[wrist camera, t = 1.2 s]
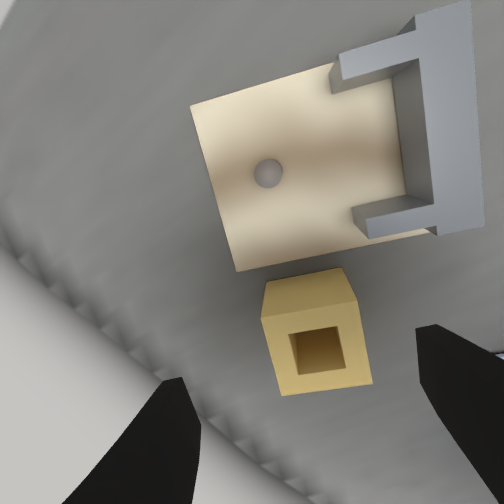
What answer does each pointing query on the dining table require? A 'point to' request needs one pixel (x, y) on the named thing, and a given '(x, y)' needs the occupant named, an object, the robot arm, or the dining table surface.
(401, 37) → the housing
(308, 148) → the base plate
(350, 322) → the block
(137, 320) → the dining table surface
